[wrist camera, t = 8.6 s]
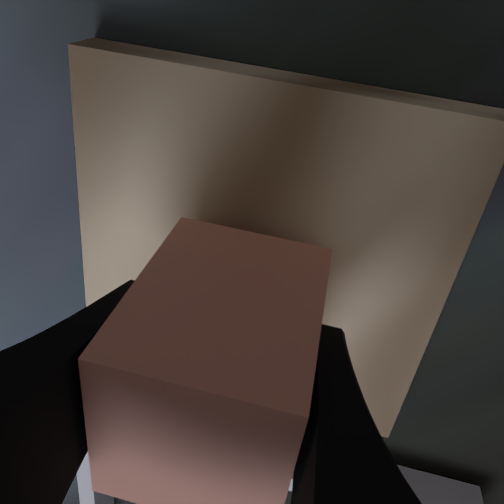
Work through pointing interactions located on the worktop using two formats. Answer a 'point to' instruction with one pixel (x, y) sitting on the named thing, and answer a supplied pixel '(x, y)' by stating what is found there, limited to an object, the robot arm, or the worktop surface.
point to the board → (287, 185)
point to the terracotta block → (206, 370)
